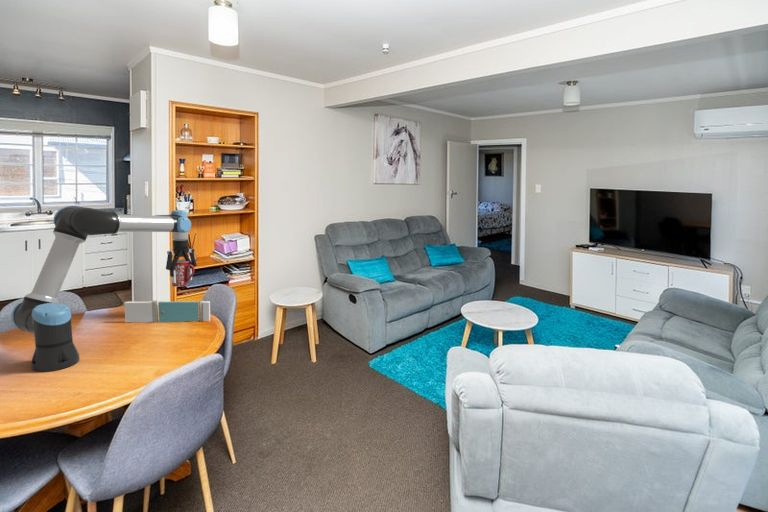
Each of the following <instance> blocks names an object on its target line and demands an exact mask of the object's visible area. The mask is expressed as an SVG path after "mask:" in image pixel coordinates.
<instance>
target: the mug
mask: <svg viewBox="0 0 768 512" xmlns="http://www.w3.org/2000/svg"><path fill="white" fill-rule="evenodd" d="M172 261H173V259H172ZM188 262H189V261H187V262H186V260H185V259H178V261H177V262H176V266H175V268H174V271H175V273H176V283H173V282H172V281H171V285H172V287H179V288H180V287H181V288H182V287H186V286H188V282H189V281H191V280H190V278H191V277H192V278H193V276H194V274H195V272H196V271H195V267H194V266H193V265H188ZM189 266H191V267H192V274H191V275H190V277H189V278H188V268H190V267H189Z"/></svg>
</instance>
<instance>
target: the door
mask: <svg viewBox="0 0 768 512" xmlns="http://www.w3.org/2000/svg"><path fill="white" fill-rule="evenodd" d="M157 304H158V322H159V323H186V322H185V321H196V322H195V323H197V321H198V322H200V321H199V300H198V301H192V300H191V301H189V300H188V301H159V302H158V301H157ZM175 321H176V322H175ZM180 321H181V322H180ZM183 321H184V322H183Z"/></svg>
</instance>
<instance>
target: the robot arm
mask: <svg viewBox="0 0 768 512" xmlns="http://www.w3.org/2000/svg"><path fill="white" fill-rule="evenodd" d="M53 224H54V228H53V231H52V233H53V235H54V236H55V237H54V239H53V241H52V245H51V247H50V249H49V252H48V254H47V257H46V258H45V261H44V263H43V265H42V268H41V270H40V273H39V274H38V276H37V279H36V281H35V284H34V286H33V288H32V291H31V292H30V293H27V294H25V295H24V297H23V300H22V301H21V302H20V303H18V304H17V305H15V306H14V307H13V309H12V311H11V315H10V316H11V318H10V319H11V322H12V323H13V325H14V326H15V327H16V328H18V329H19V330H21V331H23V332H27V333H30V334H32V335H33V336H34V345H35V346H34V348H35V349H34V351H33V355H32V358H31V362H30V365H31V366H30V367H31V369H32V371H36V372H54V371H58V370H65V368H70V367H72V366H74V365H76V364H77V363H79V362H80V353H79V352H78V349H77V347H76V346H75V343H74V339H73V327H72V326H73V325H72V313H71V309H70V307H69V306H68V305H67V304H65V303H60V302H59V299H58V296H59V294H60V291H61V289H62V287H63V285H64V282H65V280H66V277H67V275H68V272H69V270H70V268H71V265H72V263H73V260H74V258H75V256H76V254H77V251H78V249H79V247H80V245H81V244H83V243H85V242H86V240H87V238H88V237H89V236H98V235H99V236H101V235H116V234H117V233H119V232H120V233H123V232H124V233H126V232H127V233H128V232H129V233H136V232H137V233H139V232H141V233H142V232H143V233H145V232H146V233H148V232H149V233H151V232H152V233H156V232H157V233H172V235H171V236H172V239H173V240H172V250H168V251H167V258H166V265H165V270H167V271H169V276H170V277H171V283H172V282H173V283H176V273H175V271H174V268H175V266H176V262H177V261H178V260H180V258H182V257H183V258H184V260H186V262H187V261H189V262H188V265H193V266H194V268H195V267H197V261H196V258H195V249H194V248H190V247H189V232H190V230H191V229H192V222H191V220H190V219H189V218H188V212H187V210H181V209H178V210H177V209H174V210H171V213H170V214H155V215H145V214H121V213H119V214H118V213H117V212H116V211H111V210H110V211H108V210H102V209H97V208H92V207H85V206H79V205H70V206H64V207H61V208H59V209H58V210H57V211H56V212H55V213H54V217H53ZM172 260H173V261H172ZM191 274H192V267H191V266H189V267H188V278H189V277H190V275H191ZM188 278H187V279H188ZM189 281H193V276H192V277H191V278H190V280H189Z"/></svg>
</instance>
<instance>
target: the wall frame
mask: <svg viewBox="0 0 768 512" xmlns="http://www.w3.org/2000/svg"><path fill="white" fill-rule="evenodd" d="M123 305H124V319H125V320H124V321H125V323H126V322H131V323H158V322H159V307H158V300H152V301H125V302H124V303H123ZM198 314H199V321H198V322H200V321H209V322H211V301H210V300H209V301H207V300H206V301H205V300H198ZM157 321H158V322H157Z"/></svg>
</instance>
